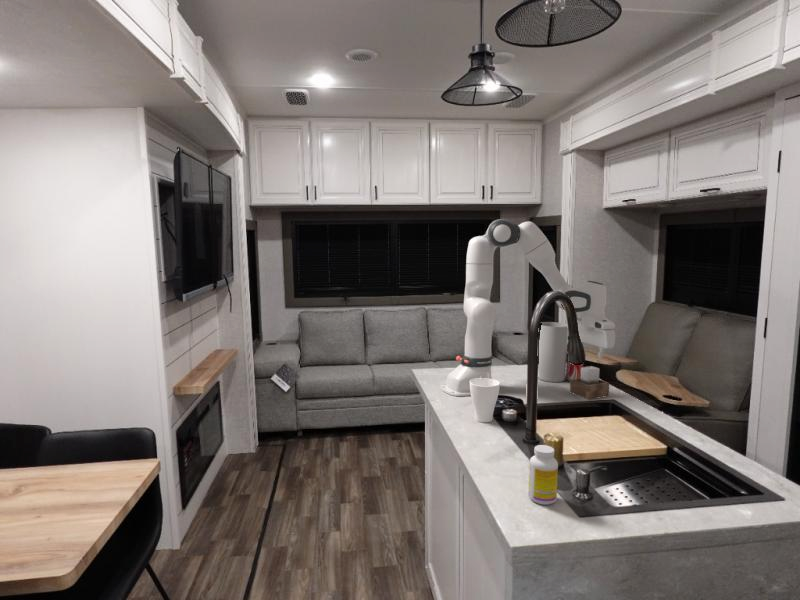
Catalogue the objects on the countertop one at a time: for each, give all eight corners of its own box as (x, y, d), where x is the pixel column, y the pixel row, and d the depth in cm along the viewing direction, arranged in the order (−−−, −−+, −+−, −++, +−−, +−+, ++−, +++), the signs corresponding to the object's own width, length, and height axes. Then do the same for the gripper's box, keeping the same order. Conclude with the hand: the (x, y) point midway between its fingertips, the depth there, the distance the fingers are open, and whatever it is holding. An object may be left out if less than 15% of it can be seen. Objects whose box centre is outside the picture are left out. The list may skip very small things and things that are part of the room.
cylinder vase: (550, 373, 236) (552, 321, 232) (571, 380, 225) (574, 325, 222) (530, 377, 229) (532, 323, 226) (551, 384, 219) (554, 327, 215)
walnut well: (588, 399, 198) (588, 386, 198) (569, 392, 207) (570, 379, 207) (608, 396, 203) (609, 382, 202) (589, 389, 212) (590, 376, 211)
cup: (473, 412, 183) (474, 376, 181) (502, 417, 178) (503, 380, 176) (464, 421, 173) (465, 384, 172) (494, 427, 169) (495, 388, 167)
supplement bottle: (562, 503, 120) (564, 452, 119) (537, 507, 119) (540, 456, 117) (546, 490, 127) (548, 441, 125) (523, 493, 125) (525, 444, 123)
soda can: (580, 378, 228) (581, 350, 227) (584, 382, 221) (585, 354, 219) (564, 377, 229) (565, 349, 227) (567, 382, 222) (569, 353, 220)
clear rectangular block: (586, 394, 202) (588, 369, 201) (579, 391, 206) (580, 367, 204) (598, 392, 204) (599, 368, 203) (590, 389, 208) (592, 366, 207)
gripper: (568, 317, 209) (566, 350, 211) (606, 326, 191) (604, 361, 193) (579, 317, 212) (577, 348, 214) (618, 325, 193) (616, 360, 195)
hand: (590, 354), depth 203 cm, fingers open, 8 cm apart
